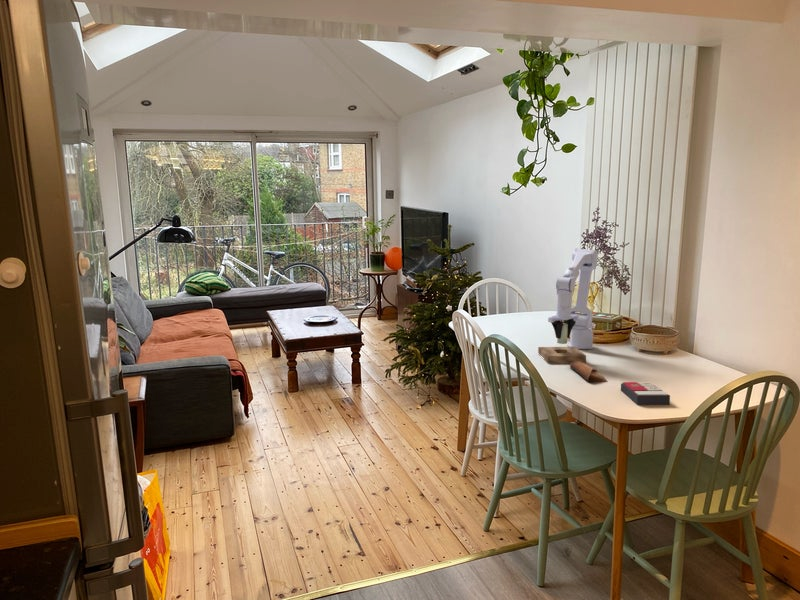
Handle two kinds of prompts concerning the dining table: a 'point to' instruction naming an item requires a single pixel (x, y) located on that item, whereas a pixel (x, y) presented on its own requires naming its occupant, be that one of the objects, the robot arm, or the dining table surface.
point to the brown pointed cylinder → (587, 372)
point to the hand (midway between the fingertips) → (562, 337)
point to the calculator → (645, 393)
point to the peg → (563, 334)
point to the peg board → (561, 354)
